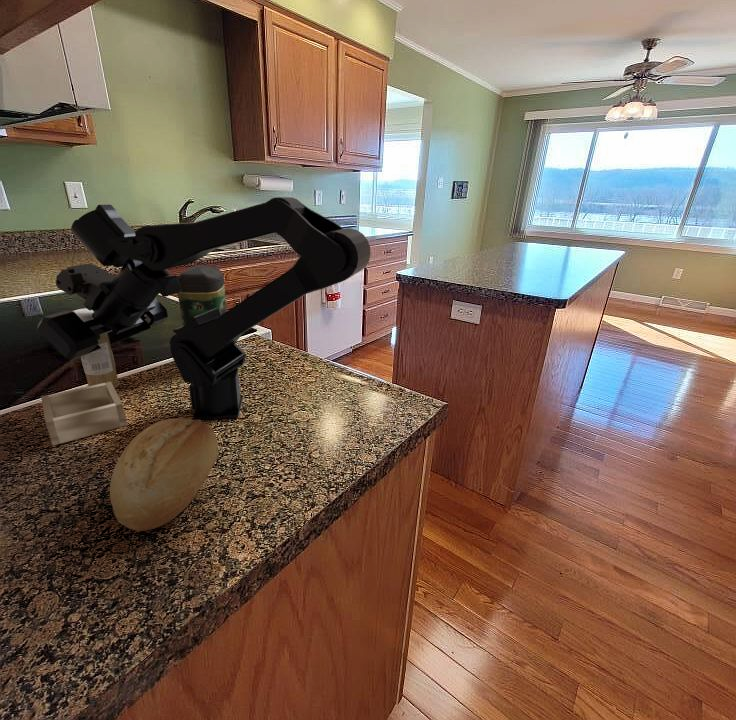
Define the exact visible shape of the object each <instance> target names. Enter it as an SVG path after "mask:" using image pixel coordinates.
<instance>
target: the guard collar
mask: <svg viewBox="0 0 736 720" xmlns="http://www.w3.org/2000/svg"><path fill="white" fill-rule="evenodd" d="M40 399H41V405H42V411H43V417H44V422H45V425H46V429H47V432H48V435H49V439H50V441H51V444H52V445H51V446H57V445H59V444H65V443H67V442H71V441H75V440H79V439H82V438H86V437H90V436H93V435H96V434H100V433H103V432H108V431H111V430H115V429H117V428H123V427H125V426H126V427H127V425H128V422H127V419H126V413H125V409H124V405H123V402H122V401H121V399H120V396H119V395H118V393H117V391H116V388H115V389H114V387H113V385H112V383H111V382H107V383H102V384H97V385H93V386H88V385H87V386H84V387H80V388H79V387H78V388H74V389H71V390H65V391H60V392H57V393H52V394H47V395H42V396H40Z"/></svg>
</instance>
